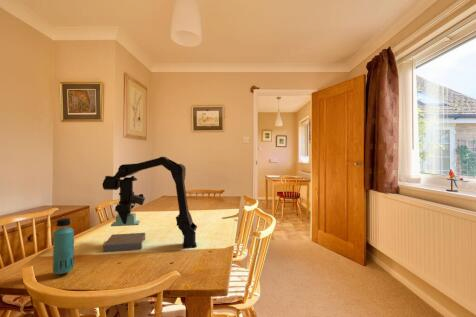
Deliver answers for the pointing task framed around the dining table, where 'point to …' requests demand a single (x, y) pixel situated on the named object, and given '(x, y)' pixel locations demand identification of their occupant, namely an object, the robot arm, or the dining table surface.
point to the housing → (130, 220)
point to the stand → (124, 242)
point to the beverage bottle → (63, 247)
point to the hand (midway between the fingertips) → (126, 222)
